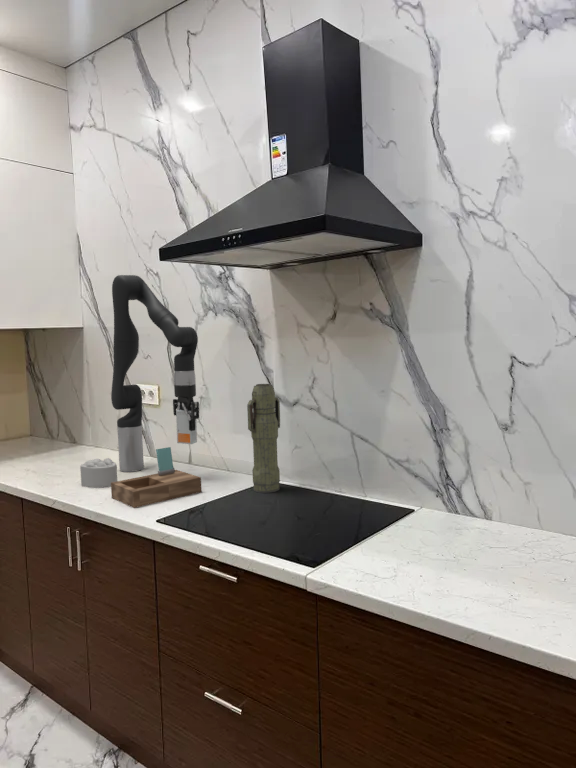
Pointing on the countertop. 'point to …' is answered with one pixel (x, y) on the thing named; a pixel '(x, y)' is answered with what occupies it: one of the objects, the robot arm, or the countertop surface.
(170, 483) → the socket block
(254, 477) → the thermos
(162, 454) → the teal card holder
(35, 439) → the countertop surface
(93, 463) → the lumpy-topped squat cylinder
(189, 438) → the skincare box
